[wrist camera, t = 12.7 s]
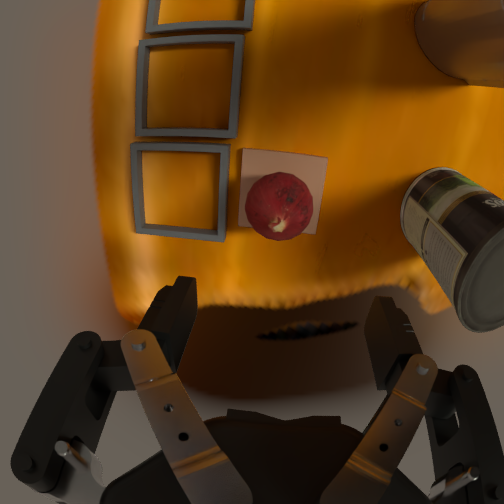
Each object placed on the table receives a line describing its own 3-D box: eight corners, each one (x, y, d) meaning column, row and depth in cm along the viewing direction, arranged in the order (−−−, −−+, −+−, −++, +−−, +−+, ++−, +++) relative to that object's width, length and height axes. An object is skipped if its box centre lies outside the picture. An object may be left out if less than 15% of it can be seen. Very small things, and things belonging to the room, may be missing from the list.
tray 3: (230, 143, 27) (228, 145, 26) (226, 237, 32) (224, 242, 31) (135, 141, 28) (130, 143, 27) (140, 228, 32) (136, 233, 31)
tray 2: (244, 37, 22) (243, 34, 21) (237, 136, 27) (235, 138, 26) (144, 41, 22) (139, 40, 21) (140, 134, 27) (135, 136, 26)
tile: (326, 157, 27) (327, 158, 26) (314, 231, 31) (315, 234, 30) (243, 147, 27) (242, 148, 27) (238, 223, 31) (237, 225, 31)
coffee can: (424, 149, 25) (511, 195, 13) (485, 192, 26) (561, 250, 14) (382, 233, 30) (433, 319, 18) (445, 262, 31) (499, 341, 19)
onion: (271, 152, 27) (269, 172, 20) (320, 186, 28) (335, 218, 21) (238, 200, 29) (225, 235, 22) (286, 230, 30) (287, 273, 24)
